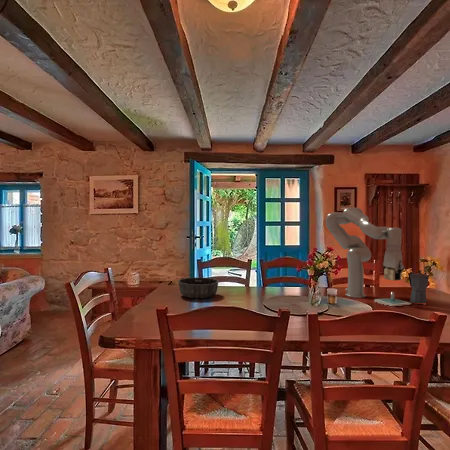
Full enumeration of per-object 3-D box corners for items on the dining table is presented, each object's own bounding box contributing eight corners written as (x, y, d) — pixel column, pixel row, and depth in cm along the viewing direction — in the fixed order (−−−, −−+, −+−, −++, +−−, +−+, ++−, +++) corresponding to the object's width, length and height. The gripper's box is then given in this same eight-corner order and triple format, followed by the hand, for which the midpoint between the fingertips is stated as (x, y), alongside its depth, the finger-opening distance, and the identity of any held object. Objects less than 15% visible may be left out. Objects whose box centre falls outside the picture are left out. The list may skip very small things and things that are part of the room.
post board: (374, 301, 203) (374, 298, 203) (392, 300, 207) (392, 297, 207) (392, 307, 190) (392, 304, 190) (411, 305, 194) (411, 302, 194)
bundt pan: (225, 294, 222) (225, 279, 222) (206, 302, 198) (207, 285, 198) (191, 290, 233) (191, 276, 233) (169, 297, 209) (169, 282, 209)
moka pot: (421, 306, 192) (422, 272, 192) (400, 300, 207) (401, 268, 206) (435, 305, 194) (435, 271, 194) (413, 299, 209) (413, 268, 209)
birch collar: (384, 278, 200) (384, 268, 200) (392, 278, 202) (393, 268, 202) (392, 280, 194) (392, 270, 194) (401, 280, 196) (401, 270, 196)
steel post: (390, 300, 199) (390, 292, 199) (392, 300, 200) (392, 291, 200) (392, 301, 197) (392, 292, 197) (395, 301, 198) (395, 292, 198)
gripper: (377, 247, 205) (376, 276, 205) (400, 250, 188) (399, 281, 189) (387, 247, 207) (386, 275, 208) (410, 249, 191) (409, 281, 191)
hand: (392, 278), depth 198 cm, fingers closed on birch collar, 6 cm apart
